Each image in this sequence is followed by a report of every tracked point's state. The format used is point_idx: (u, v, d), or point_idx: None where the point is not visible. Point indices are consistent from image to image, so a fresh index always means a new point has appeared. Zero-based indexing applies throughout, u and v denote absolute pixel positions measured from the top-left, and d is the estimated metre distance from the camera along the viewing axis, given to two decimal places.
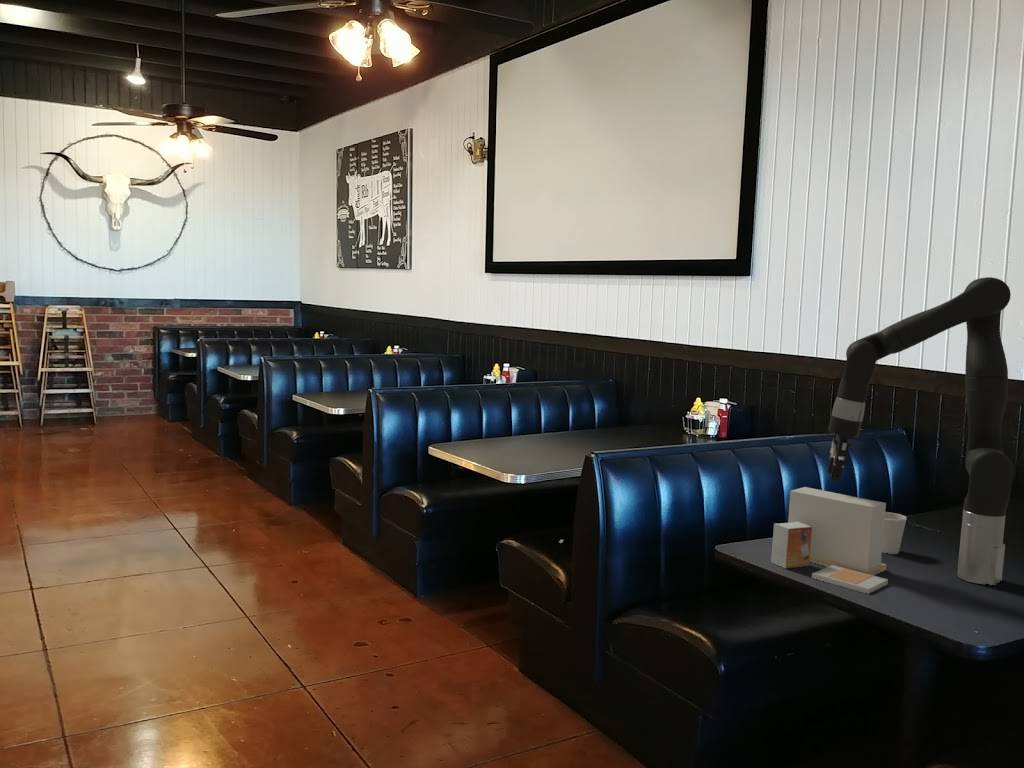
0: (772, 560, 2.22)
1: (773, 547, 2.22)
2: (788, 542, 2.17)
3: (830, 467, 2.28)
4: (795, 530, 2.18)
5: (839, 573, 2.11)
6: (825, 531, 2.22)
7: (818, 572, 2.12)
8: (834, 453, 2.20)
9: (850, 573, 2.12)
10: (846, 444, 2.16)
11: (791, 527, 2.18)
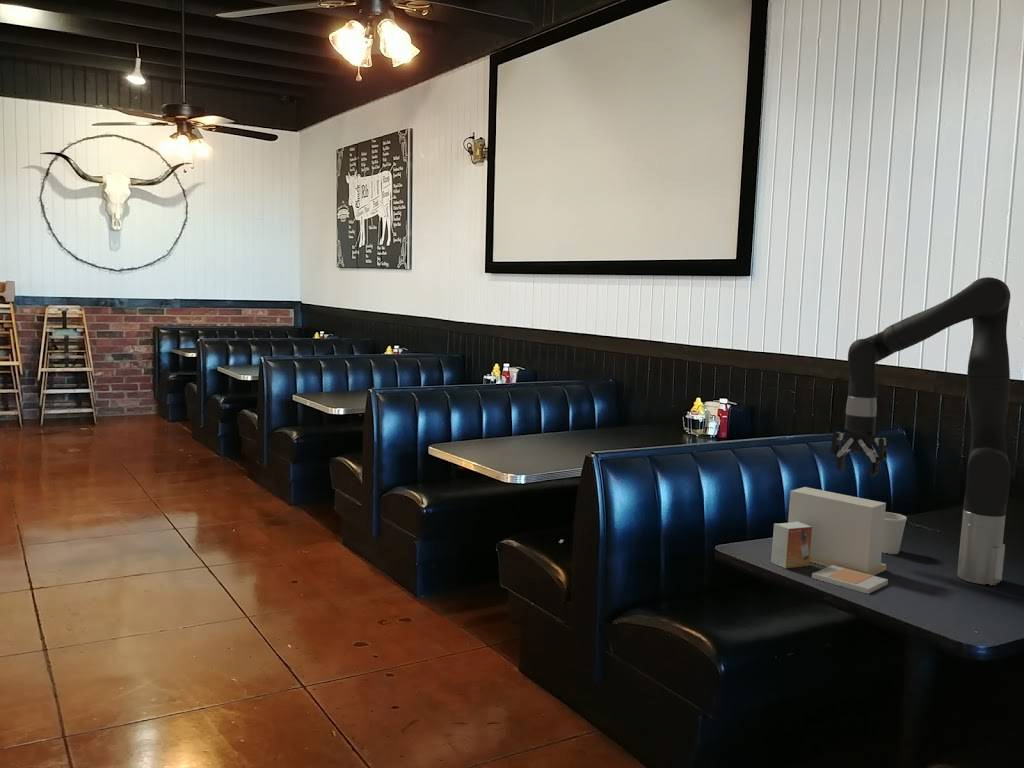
0: (772, 560, 2.22)
1: (773, 547, 2.22)
2: (788, 542, 2.17)
3: (842, 465, 2.33)
4: (795, 530, 2.18)
5: (839, 573, 2.11)
6: (825, 531, 2.22)
7: (818, 572, 2.12)
8: (869, 451, 2.26)
9: (850, 573, 2.12)
10: (884, 439, 2.25)
11: (791, 527, 2.18)
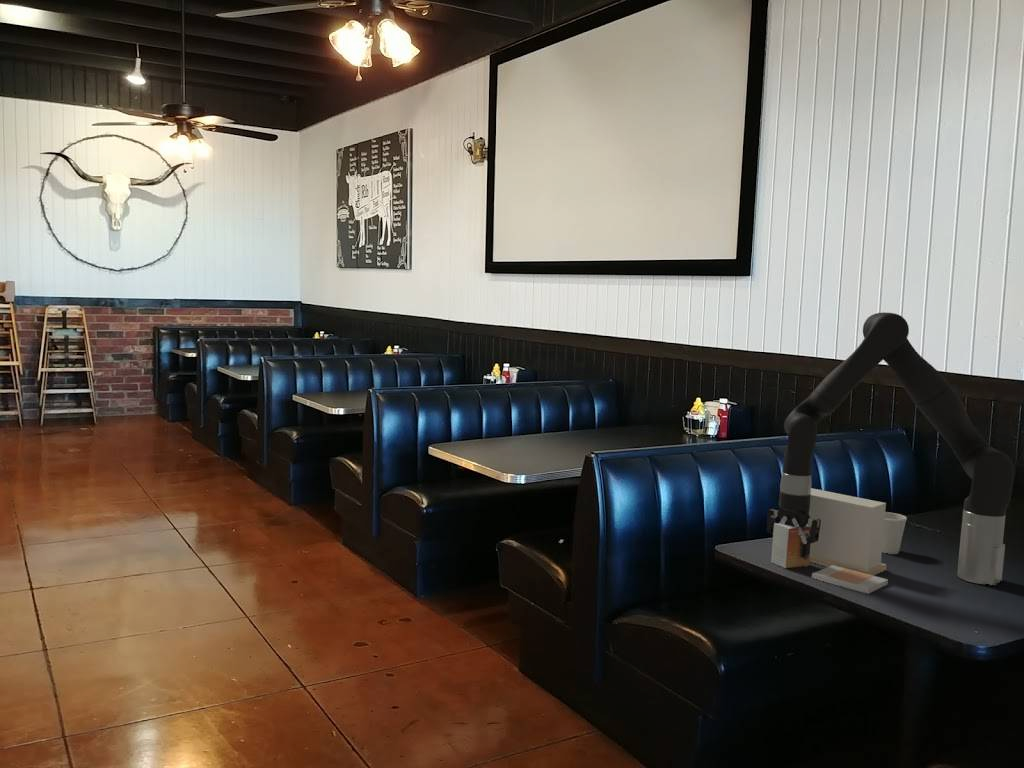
0: (772, 560, 2.22)
1: (773, 547, 2.22)
2: (788, 542, 2.17)
3: None
4: (795, 530, 2.18)
5: (839, 573, 2.11)
6: (825, 531, 2.22)
7: (818, 572, 2.12)
8: (802, 531, 2.17)
9: (850, 573, 2.12)
10: (818, 520, 2.16)
11: (791, 527, 2.18)
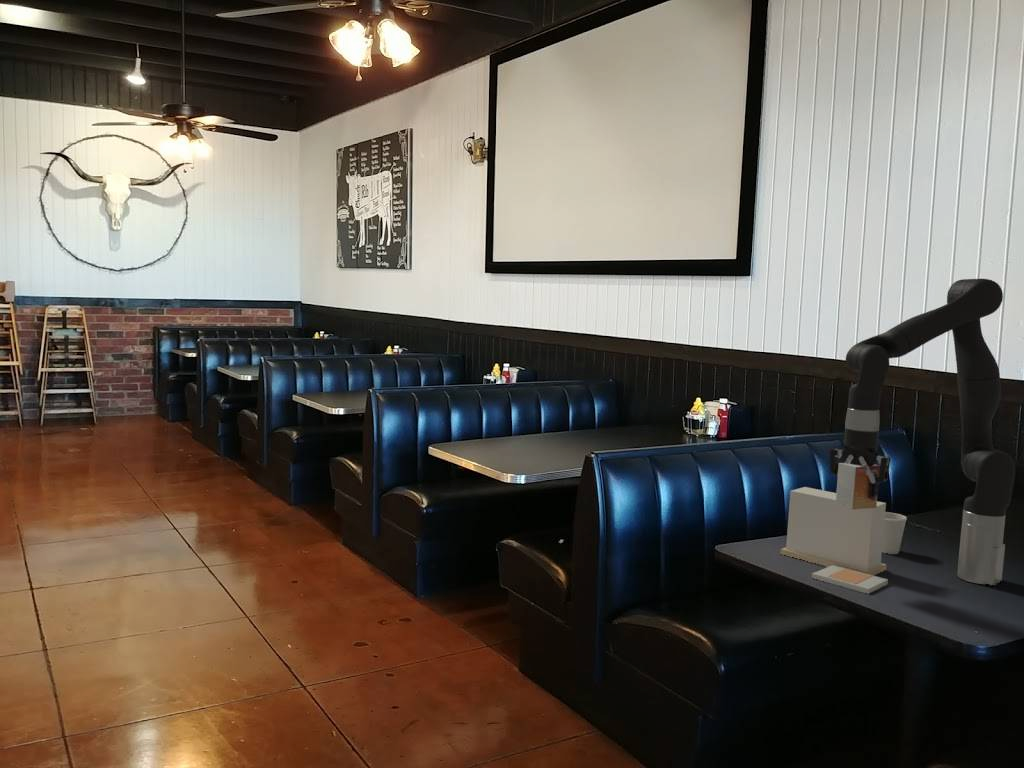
0: (837, 502, 2.08)
1: (838, 488, 2.08)
2: (855, 482, 2.03)
3: None
4: (862, 469, 2.04)
5: (839, 573, 2.11)
6: (825, 531, 2.22)
7: (818, 572, 2.12)
8: (870, 470, 2.04)
9: (850, 573, 2.12)
10: (888, 458, 2.02)
11: (858, 466, 2.04)
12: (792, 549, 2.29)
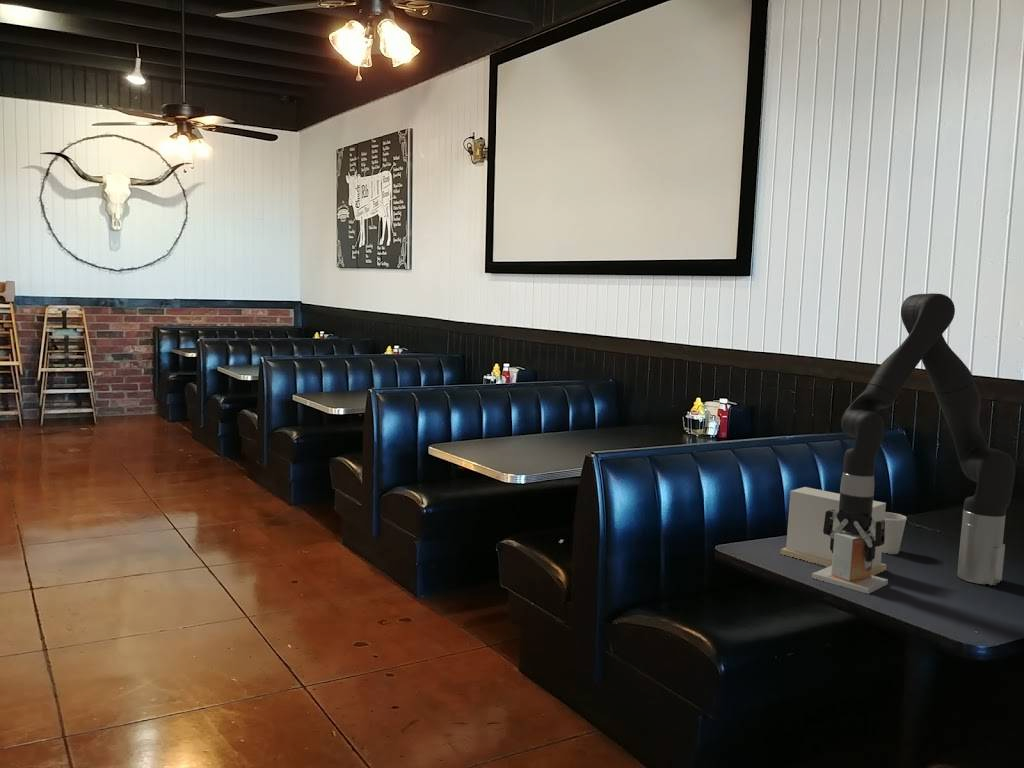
0: (833, 572, 2.10)
1: (834, 558, 2.09)
2: (852, 553, 2.05)
3: None
4: (859, 540, 2.05)
5: None
6: None
7: (818, 572, 2.12)
8: (866, 534, 2.05)
9: None
10: (882, 522, 2.04)
11: (854, 537, 2.06)
12: (792, 549, 2.29)
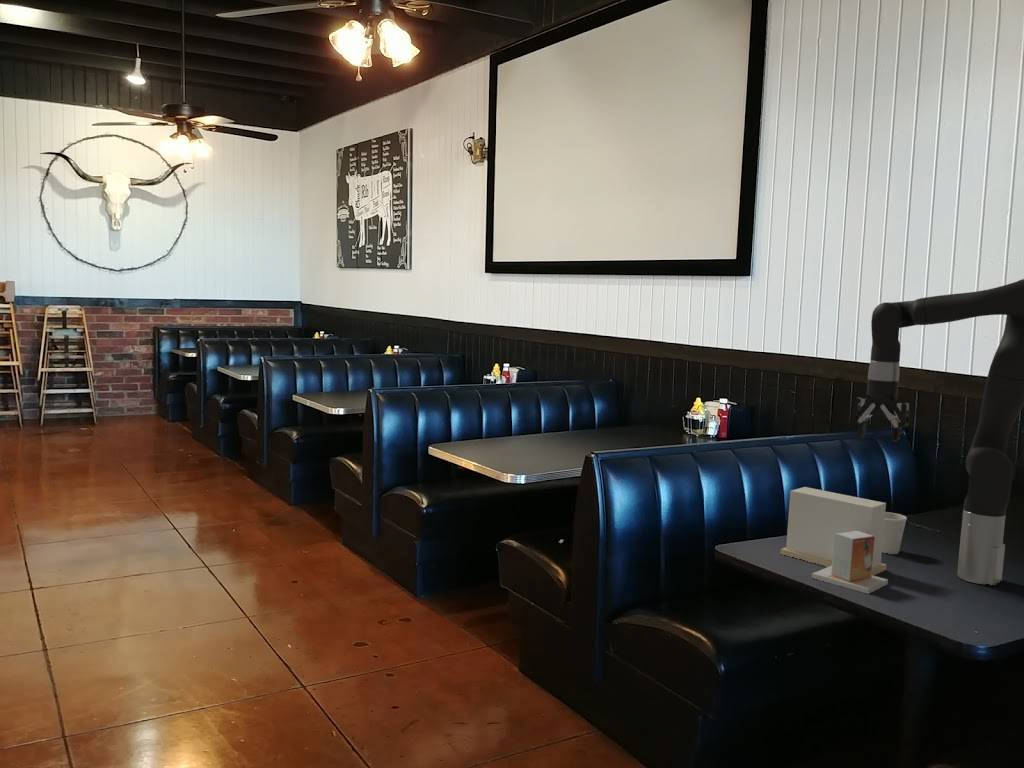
0: (833, 572, 2.10)
1: (834, 558, 2.09)
2: (852, 554, 2.05)
3: (863, 431, 2.30)
4: (859, 540, 2.05)
5: None
6: (825, 531, 2.22)
7: (818, 572, 2.12)
8: (892, 416, 2.24)
9: None
10: (907, 404, 2.23)
11: (855, 537, 2.06)
12: (792, 549, 2.29)
